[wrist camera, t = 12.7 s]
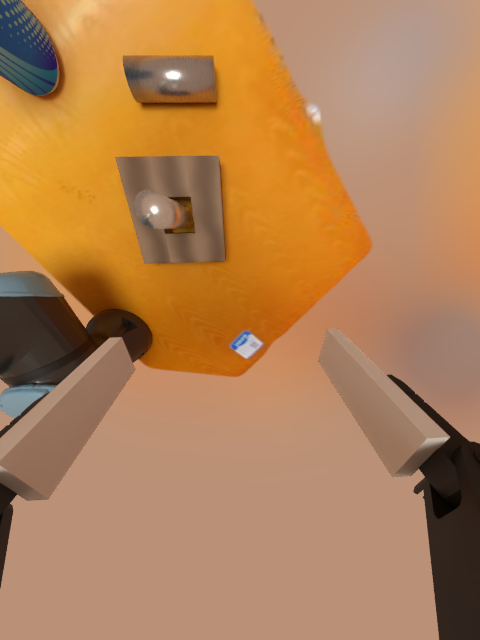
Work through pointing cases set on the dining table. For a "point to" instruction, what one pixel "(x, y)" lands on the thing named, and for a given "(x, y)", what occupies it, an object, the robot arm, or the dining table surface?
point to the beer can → (26, 50)
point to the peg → (161, 211)
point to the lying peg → (171, 78)
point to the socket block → (178, 184)
